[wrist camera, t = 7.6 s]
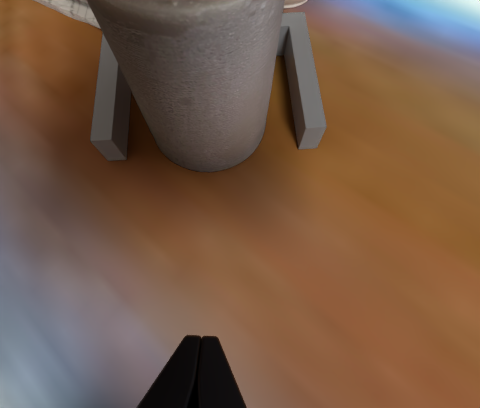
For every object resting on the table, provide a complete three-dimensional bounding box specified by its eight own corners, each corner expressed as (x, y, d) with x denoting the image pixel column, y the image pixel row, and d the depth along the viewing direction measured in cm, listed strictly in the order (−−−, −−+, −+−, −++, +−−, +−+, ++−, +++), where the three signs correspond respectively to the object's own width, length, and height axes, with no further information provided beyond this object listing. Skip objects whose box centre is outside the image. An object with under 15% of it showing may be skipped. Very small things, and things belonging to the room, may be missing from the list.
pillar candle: (129, 136, 25) (-19, -92, 11) (197, 59, 27) (152, -206, 13) (226, 195, 23) (206, 20, 9) (288, 107, 26) (349, -137, 12)
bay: (316, 148, 24) (326, 126, 21) (107, 160, 24) (90, 141, 21) (298, 41, 28) (304, 11, 25) (118, 51, 28) (104, 22, 25)
